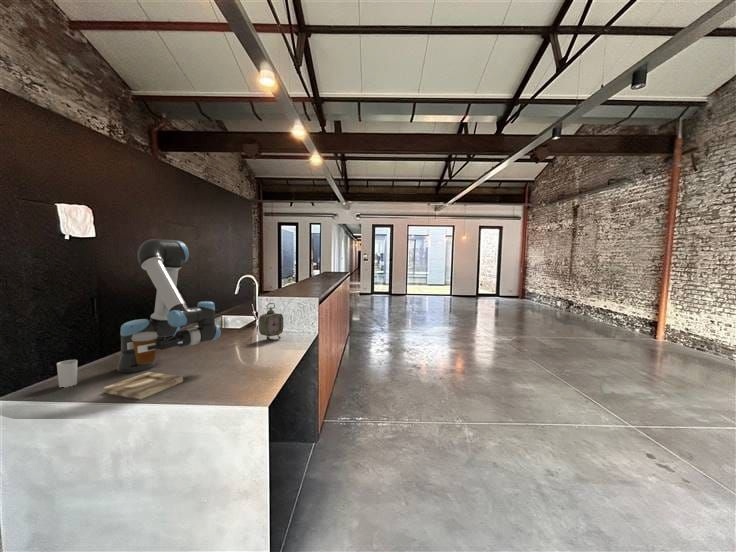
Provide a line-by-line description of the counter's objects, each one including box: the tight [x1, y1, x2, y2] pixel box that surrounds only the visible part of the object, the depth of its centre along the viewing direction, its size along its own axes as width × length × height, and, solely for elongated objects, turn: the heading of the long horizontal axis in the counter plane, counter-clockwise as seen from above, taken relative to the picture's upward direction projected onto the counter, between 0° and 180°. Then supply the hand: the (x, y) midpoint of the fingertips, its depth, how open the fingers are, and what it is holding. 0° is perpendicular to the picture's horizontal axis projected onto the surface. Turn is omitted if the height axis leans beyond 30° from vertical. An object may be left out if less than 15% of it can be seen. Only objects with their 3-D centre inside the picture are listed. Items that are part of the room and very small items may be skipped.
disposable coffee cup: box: [131, 332, 158, 364], centre depth 143 cm, size 10×10×12 cm
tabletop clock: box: [258, 302, 284, 343], centre depth 227 cm, size 14×9×25 cm, turn 147°
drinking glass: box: [56, 359, 78, 388], centre depth 145 cm, size 7×7×10 cm
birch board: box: [103, 371, 184, 400], centre depth 144 cm, size 20×20×2 cm
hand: (132, 348), depth 139 cm, fingers closed on disposable coffee cup, 8 cm apart
